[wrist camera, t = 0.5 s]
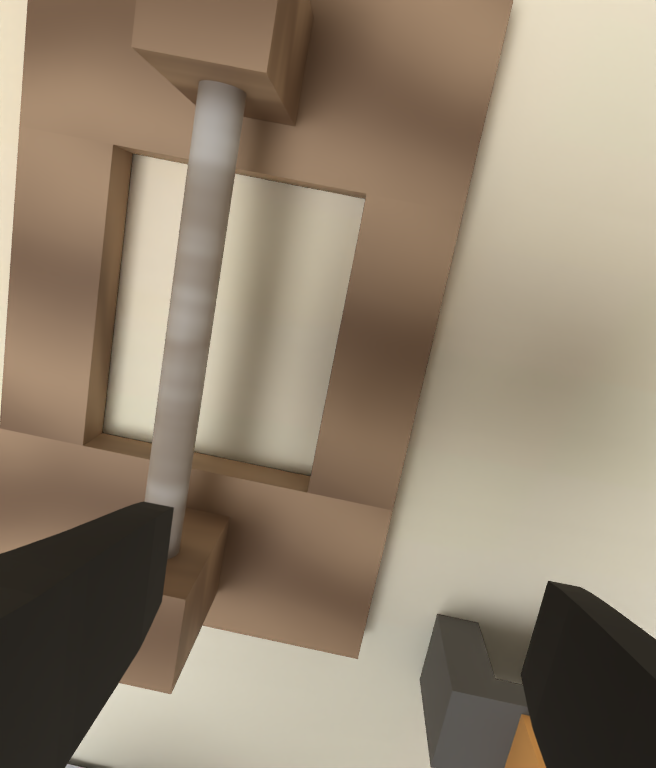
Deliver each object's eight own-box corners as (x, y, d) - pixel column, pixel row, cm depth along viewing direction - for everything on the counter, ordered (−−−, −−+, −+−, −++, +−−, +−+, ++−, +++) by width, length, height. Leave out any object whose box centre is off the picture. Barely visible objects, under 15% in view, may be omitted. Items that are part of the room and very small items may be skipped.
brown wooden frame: (358, 633, 22) (354, 781, 16) (14, 558, 23) (-124, 674, 16) (502, 16, 17) (579, -123, 11) (61, -65, 18) (-109, -246, 11)
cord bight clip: (579, 714, 22) (661, 889, 16) (419, 679, 23) (439, 839, 16) (601, 649, 22) (696, 805, 15) (437, 614, 22) (465, 755, 16)
